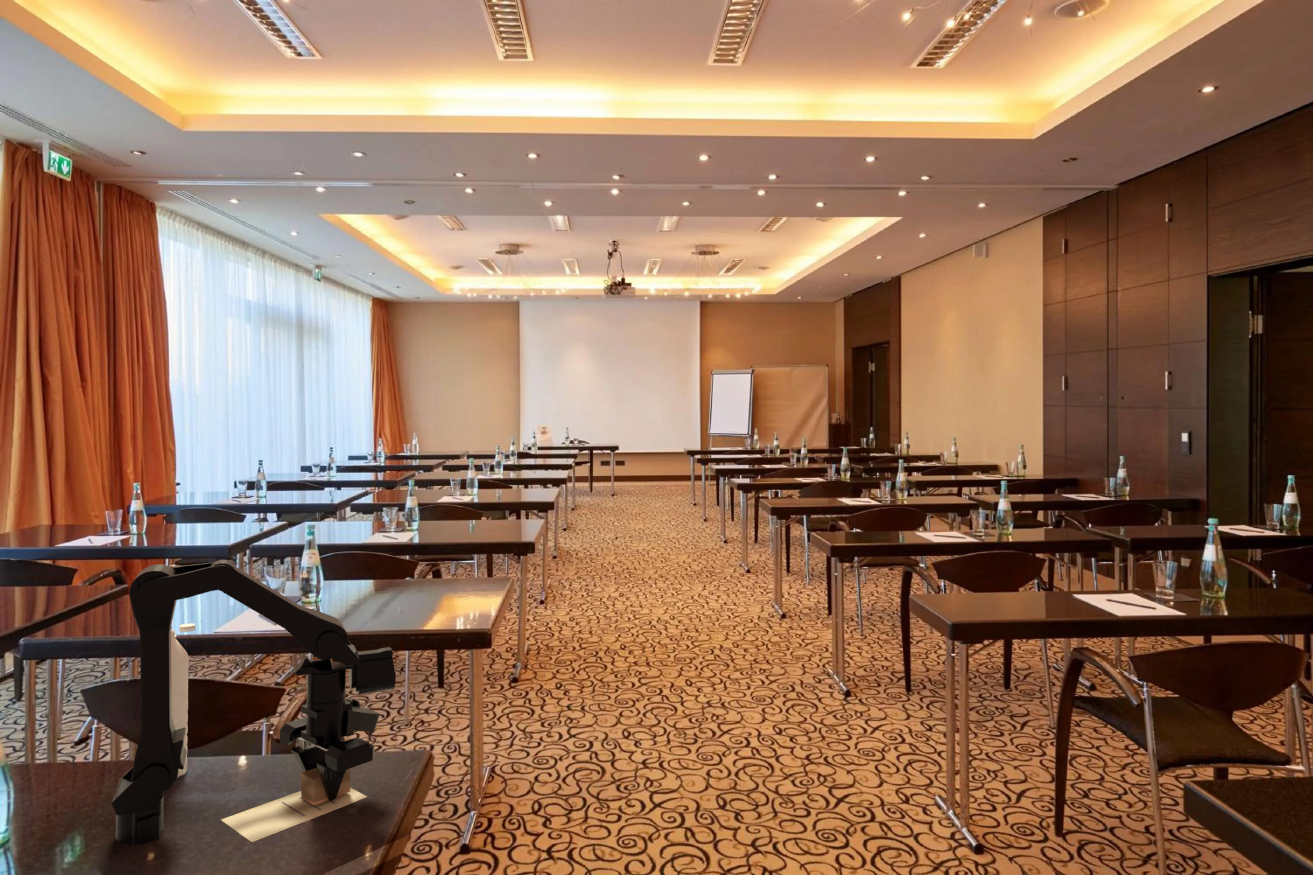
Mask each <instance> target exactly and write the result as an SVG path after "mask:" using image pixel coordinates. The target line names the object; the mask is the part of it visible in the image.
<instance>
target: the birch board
mask: <svg viewBox="0 0 1313 875" xmlns="http://www.w3.org/2000/svg"><path fill="white" fill-rule="evenodd" d="M366 798H368V796H367V795H365V794H363V793H361V792H359V791H357V790H356V789H354V788H352V787H350V792H348V793H346V794H343V795H340V796H338V797H336V799H334V800H331V801H329V800H328V801H325V802H323V803H320V804H317V805H315V806H314V805H312V804H310V803H309V802H307V801H305V800H303V799H302V798H301V790H299V791H297V792H294V793H291V794H289V795H285V796H284V797H280V798H278V799H275V800H271V801H269V802H266V803H263V804H261V805H258V806H255V807H253V808H249V809H247V810H244V811H241V812H238V813H236V814H233V815H231V816H227V817H225V818H221V819H220V820H221V822H223V823H224V824H226V825H227V826H229V828H231V829H232V830H234V831H235V832H237V834H239V835H241V836H242V837H244V838H245V839H246V840H248V841H249V842H250V843H255V842H256V841H259V840H262V839H264V838H267V837H269V836H273V835H274V834H277V833H280V832H282V831H285V830H287V829H290V828H293V827H295V826H298V825H299V824H302V823H305V822H308V821H311V820H313V819H316V818H318V817H321V816H322V815H326V814H328V813H330V812H333V811H335V810H338V809H340V808H343V807H346V806H348V805H351V804H353V803H356V802H359V801H360V800H363V799H366Z"/></svg>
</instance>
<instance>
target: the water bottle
mask: <svg viewBox="0 0 1313 875" xmlns="http://www.w3.org/2000/svg"><path fill="white" fill-rule="evenodd" d="M178 629H179V630H178V631H179V632H180V633H188V632H194V631H195V630H196V624H195V623H182V624H180V625H179V627H178ZM176 637H178V636H177V635H176V630H173V629H171V685H172V720H173V724H174V726H175V729H176V730H178V729H181V728H184V727H185V728H186V731H185V736H184V747H185V749H186V751H187V753H186V759H185V764H184V769H183V770H181V769H179V772H178V777H177V779H179V778H180V777H182V776H183V775H186V772H187V771H188V757H187V756H188V735H187V734H188V729H189V728H188V727H189V726H188V722H189V720H188V719H189V715H188V711H189V698H188V697H189V685H188V684H189V662H190V660H189V654H188V652H187V651H186V649H185V648H184V647H183V645H182V644H181V643H180V642H179V640H177V638H176Z"/></svg>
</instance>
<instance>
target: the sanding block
mask: <svg viewBox="0 0 1313 875" xmlns="http://www.w3.org/2000/svg"><path fill="white" fill-rule="evenodd" d="M300 782H301V783H300V784H301V785H300V788H301V789H300V791H301V798H302V799H303V800H305V801H307V802H309V803H310V804H312V805H314V806H315V805H317V804H320V803H323V802H325V801H328V798H327V795H326V792H325V789H324V786H323V783H322V780H321V776H320V773H319V770H318V767H317V768H314V769H311V770H308V771H305V772H304V771H302V772H301V777H300ZM350 788H351V768H350V769H347V770H346V772H345V775H344V777H343V780H342V783H341V786H340V788H339V791H338V794H337V797H338V796H340V795H343V794H346V793H348V792H350Z"/></svg>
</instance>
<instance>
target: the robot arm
mask: <svg viewBox="0 0 1313 875" xmlns="http://www.w3.org/2000/svg"><path fill="white" fill-rule="evenodd" d="M215 591H220V592H221V593H223V594H225V595H227V596H228V597H230V598H232V599H233V600H235V601H237V602H239V603H241V604H242V605H244V606H245V607H247V608H249V609H250V610H252V611H254V612H256V613H258V614H259V615H261V616H263V617H264V618H266V619H267V620H269V621H271V622H272V623H275V624H276V625H278V627H279V626H280V628H282V629H284V630H285V631H286V632H288V633H289V634H290V635H291V636H292V637H293V638H294V639H295V640H296V641H297V642H298V643H299V644H300V645H301V646H302V648H304V649H305V650H307V651H308V652H309V654H311V655H312V656H314V658H316V659H311V658H309V657H308V656H307V655H304V656H303V657H302V659H301V660H300V661H299V662H298V663H297V664H295V665H294V667H293V670H294V674H295V676H298V677H299V676H305V675H306V704H302V705H301V706H300V712H301V713H302V714H305V715H306V717H302V718H298V719H296V720H291V721H287V722H285V723H284V724H283V725H282V727H281V728H280V729H279V742H280V743H282V744H284V745H286V746H290V745H292V743H293V742H294V740H295V746H294V747H292V748H291V749H290V750H291V753H292V754H293V755H294V757H295V758H296V760H297V762H298V764H299V765H300V767H301V770H302V772H305V771H308V770H311V769H314V768H317V767H318V770H319V773H320V776H321V780H322V783H323V786H324V789H325V792H326V795H327V798H328V800H329V801H331V800H334V799H336V797H337V794H338V791H339V788H340V786H341V783H342V780H343V777H344V775H345V772H346V770H347V769H350V770H351V769H353V768H355V767H359V766H361V765H364V764H366V763H370V762H372V761H373V760H374V758H375V746H374V745H373V744H371V743H370V742H368V741H366V740H364V739H363V738H360V737H358V736H356V737H353V738H350V739H347V740H344V739H343V738H344V737H347V738H349V737H352V736H354V735H355V731H356V732H364V733H365V732H367V733H368V734H375V730H376V728H377V725H378V723H379V718H380V712H378V711H374V710H373V709H369V708H367V707H363V706H360V704H361V703H360V700H357V699H355V698H350V697H347V698H346V688H347V686H346V683H347V682H346V680H347V678H346V677H347V676H346V675H347V674H346V673H347V670H348V684H349V688H350V689H354V690H355V693H356V694H357V695H362V694H370V693H371V694H373V693H378V692H384V691H385V692H386V691H392V690H395V687H396V681H397V680H396V678H397V676H396V675H397V673H396V670H395V662H394V657H393V649H392V648H391V647H390V646H387V647H381V648H378V649H373V650H372V649H370V650H363V651H357V649H356V647H355V645H354V644H352V643H350V641H349V636H348V632H347V631H346V629H345V627H344V624H343V623H342V621H341V620H339V618H337V617H335V616H332V615H330V614H328V613H325V612H322V611H320V610H316V609H313V608H309V607H307V606H306V607H305V606H303V605H301V604H298V603H297V602H295V601H293V600H292V599H290V598H288V597H287V596H285V595H284V594H282V593H280V592H278V591H277V590H275V589H273V588H271V587H270V586H269V585H267V584H265V583H264V582H262V581H260V580H259V579H257V578H255V577H253V576H252V575H251V574H248V573H247V572H246V571H244V570H242V569H240V568H239V567H237V566H236V565H235V563H234V562H233V561H230V560H227V559H219V560H216V561H212V562H205V563H198V564H197V563H196V564H187V565H181V566H175V567H172V566H169V565H166V564H157V563H156V564H153V565H149V566H147V567H145V568H143V569H142V570H141V571H140V572H139V573H138V574H137V575H136V577H135V578H134V580H133V581H132V582H131V584H130V586H129V589H128V596H129V601H130V605H131V606H130V607H131V609H132V614H133V617H134V621H135V623H136V626H137V629H138V633H139V656H140V657H139V658H140V659H139V660H140V661H139V664H140V667H139V668H140V674H139V675H140V676H139V677H140V680H139V681H140V686H139V687H140V732H139V737H138V741H137V745H136V746H137V747H136V749H135V755H134V759H133V760H134V761H133V765H132V767H131V768H130V769H129V770H127V771H126V773H124V774H123V775H122V777H120V779H119V781H118V785H117V787H116V791H115V793H114V796H113V799H112V801H111V807H112V808H113V810H114V813H115V840H116V842H118V843H121V844H133V845H137V846H140V845H143V844H146V843H149V842H152V841H156V840H157V839H159V838H161V832H162V831H163V829H164V793H165V792H167V791H168V790H170V788H171V787H173V785H174V784H175V783H176V782H177V780H178V778H179V777H178V772H179V769H181V770H183V769H184V764H185V759H186V753H187V754H188V750H187V751H186V749H185V747H184V736H185V731H186V728H185V727H184V728H181V729H178V730H176V729H175V726H174V724H173V720H172V685H171V630H172V624H173V619H174V615H175V610H176V605H177V601H180V600H184V599H188V598H193V597H195V596H198V595H203V594H206V593H209V592H210V593H211V592H215ZM331 660H334V661H331ZM177 777H178V778H177Z"/></svg>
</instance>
